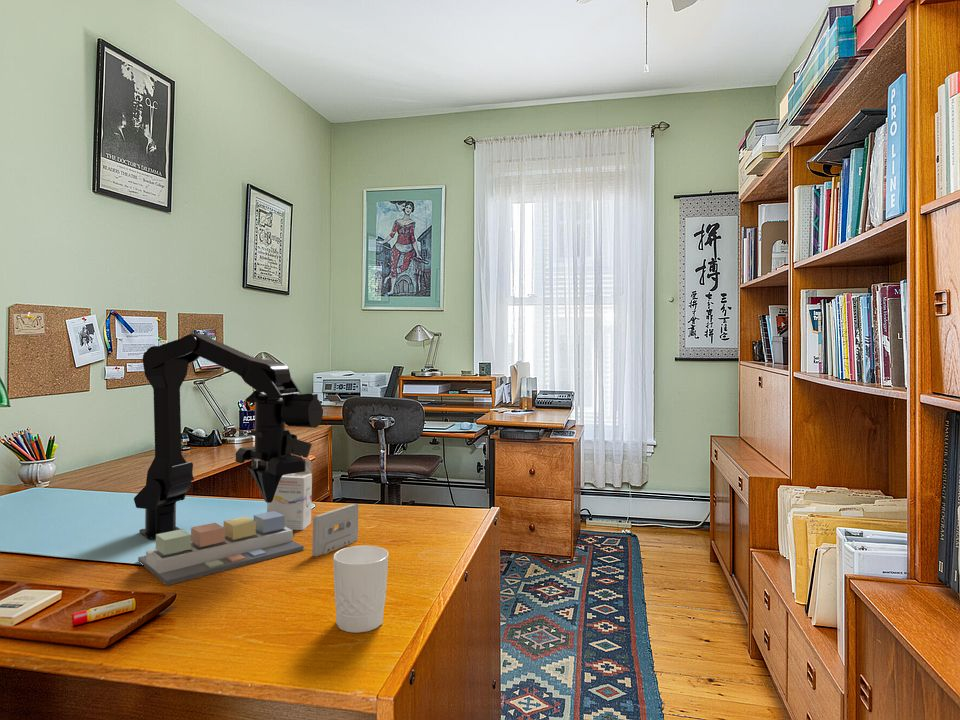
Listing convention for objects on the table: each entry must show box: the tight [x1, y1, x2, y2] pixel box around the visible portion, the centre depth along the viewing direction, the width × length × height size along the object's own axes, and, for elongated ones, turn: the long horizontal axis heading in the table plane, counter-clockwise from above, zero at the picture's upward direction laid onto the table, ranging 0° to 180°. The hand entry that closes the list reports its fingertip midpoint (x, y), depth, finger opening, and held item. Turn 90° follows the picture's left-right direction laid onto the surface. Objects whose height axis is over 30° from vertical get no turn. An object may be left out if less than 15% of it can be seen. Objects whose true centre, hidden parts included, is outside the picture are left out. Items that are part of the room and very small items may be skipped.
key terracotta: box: [190, 522, 225, 547], centre depth 108 cm, size 4×4×3 cm
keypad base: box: [137, 526, 304, 586], centre depth 110 cm, size 15×25×3 cm, turn 136°
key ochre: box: [222, 516, 256, 540], centre depth 112 cm, size 4×4×3 cm
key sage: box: [155, 528, 191, 555], centre depth 104 cm, size 4×4×3 cm
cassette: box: [311, 503, 359, 557], centre depth 116 cm, size 12×2×8 cm, turn 150°
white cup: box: [332, 545, 389, 634], centre depth 84 cm, size 8×8×10 cm
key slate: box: [253, 511, 285, 533], centre depth 117 cm, size 4×4×3 cm
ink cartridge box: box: [266, 459, 313, 531], centre depth 129 cm, size 9×5×15 cm, turn 84°
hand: (268, 502), depth 117 cm, fingers closed
